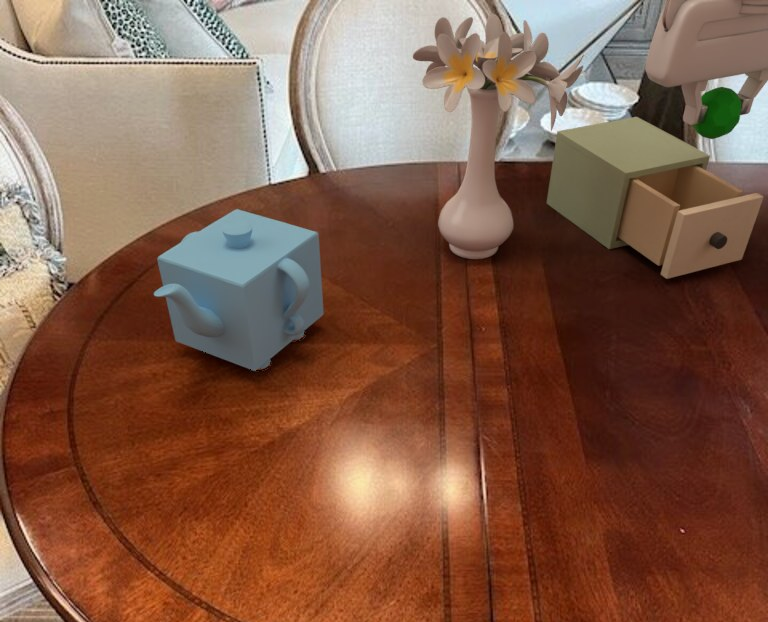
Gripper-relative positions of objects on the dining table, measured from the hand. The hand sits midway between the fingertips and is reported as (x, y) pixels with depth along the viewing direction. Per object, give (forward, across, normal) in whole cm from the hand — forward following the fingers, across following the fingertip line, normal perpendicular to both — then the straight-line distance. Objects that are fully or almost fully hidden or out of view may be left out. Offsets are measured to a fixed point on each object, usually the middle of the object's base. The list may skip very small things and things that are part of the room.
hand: (715, 118), depth 85 cm
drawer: (+16, 0, +2) cm, 16 cm away
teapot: (+17, -56, +3) cm, 58 cm away
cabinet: (+17, 0, +13) cm, 21 cm away
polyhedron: (+2, 0, 0) cm, 2 cm away
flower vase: (+17, -21, +13) cm, 30 cm away
